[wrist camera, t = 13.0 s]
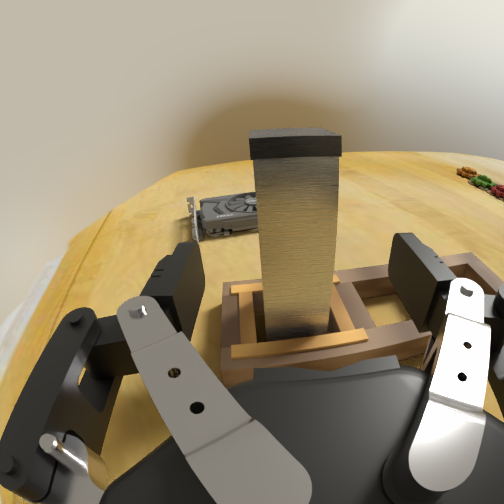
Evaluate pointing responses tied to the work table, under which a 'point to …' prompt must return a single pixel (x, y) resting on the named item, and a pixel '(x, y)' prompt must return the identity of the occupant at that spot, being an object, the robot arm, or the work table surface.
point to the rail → (330, 324)
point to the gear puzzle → (483, 182)
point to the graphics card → (223, 214)
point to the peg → (296, 226)
